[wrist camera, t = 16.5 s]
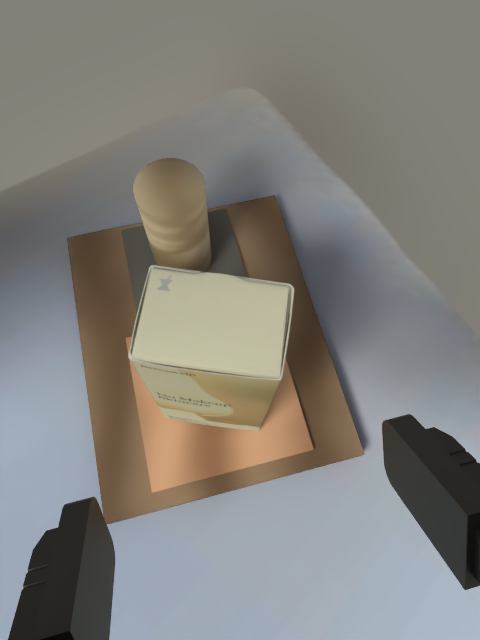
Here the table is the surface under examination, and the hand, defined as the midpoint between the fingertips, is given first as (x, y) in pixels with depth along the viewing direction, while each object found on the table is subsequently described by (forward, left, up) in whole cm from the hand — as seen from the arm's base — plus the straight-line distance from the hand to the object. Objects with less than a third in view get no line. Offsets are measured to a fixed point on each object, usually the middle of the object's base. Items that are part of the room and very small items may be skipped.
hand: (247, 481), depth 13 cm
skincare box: (0, +6, -16) cm, 17 cm away
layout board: (0, +11, -17) cm, 20 cm away
